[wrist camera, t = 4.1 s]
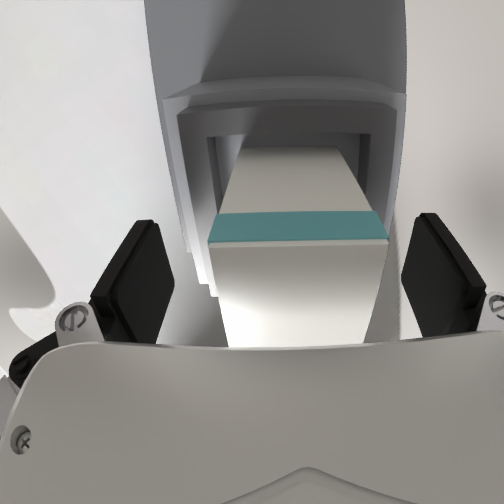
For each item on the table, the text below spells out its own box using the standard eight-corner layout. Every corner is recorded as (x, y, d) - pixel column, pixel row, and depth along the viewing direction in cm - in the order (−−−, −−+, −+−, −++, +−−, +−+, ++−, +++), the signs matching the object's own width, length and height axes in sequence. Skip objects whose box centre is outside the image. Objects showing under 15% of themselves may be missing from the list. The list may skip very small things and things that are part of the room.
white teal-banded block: (238, 147, 12) (205, 246, 7) (337, 145, 12) (391, 242, 6) (248, 246, 15) (233, 371, 10) (331, 245, 15) (355, 368, 9)
